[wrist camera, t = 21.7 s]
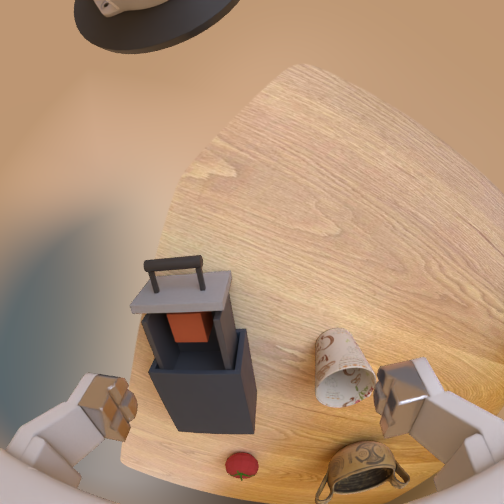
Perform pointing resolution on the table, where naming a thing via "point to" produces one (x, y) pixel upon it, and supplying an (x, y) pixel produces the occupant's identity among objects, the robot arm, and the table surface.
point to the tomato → (241, 465)
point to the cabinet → (211, 395)
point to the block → (191, 326)
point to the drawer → (187, 300)
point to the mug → (341, 370)
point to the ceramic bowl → (361, 470)
